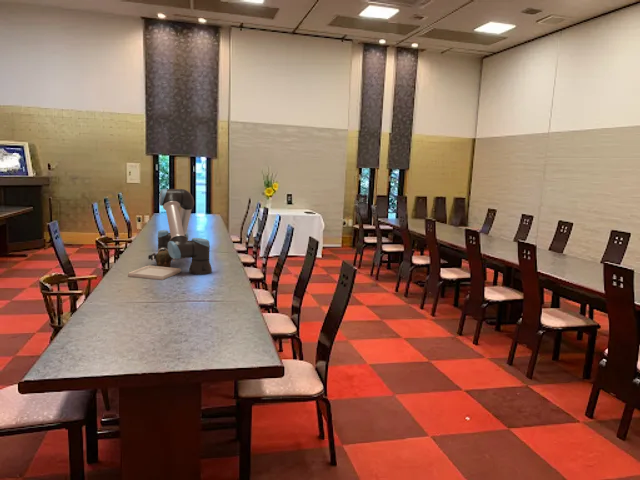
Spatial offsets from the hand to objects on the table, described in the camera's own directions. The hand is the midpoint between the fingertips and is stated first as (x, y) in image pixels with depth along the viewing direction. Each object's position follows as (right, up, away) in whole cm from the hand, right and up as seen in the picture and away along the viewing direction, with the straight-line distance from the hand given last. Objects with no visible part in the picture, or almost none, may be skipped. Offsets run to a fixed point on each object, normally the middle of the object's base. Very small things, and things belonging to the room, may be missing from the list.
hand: (163, 259), depth 327 cm
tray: (0, -9, -17) cm, 19 cm away
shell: (-1, -6, +4) cm, 7 cm away
